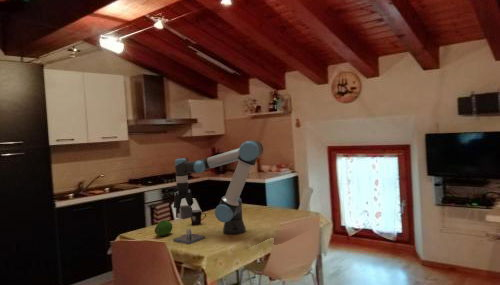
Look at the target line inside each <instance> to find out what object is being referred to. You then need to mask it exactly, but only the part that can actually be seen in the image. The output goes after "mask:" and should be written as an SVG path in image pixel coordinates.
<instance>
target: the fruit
mask: <svg viewBox="0 0 500 285" xmlns="http://www.w3.org/2000/svg"><path fill="white" fill-rule="evenodd" d="M172 230H173V224H172V222H171V221H169V220H167V219H164V220H161V221H159V222H158V223H157V224H156V227H155V228H154V233H155V234H156V235H157V236H167V235H169V234H170V233H171V232H172Z"/></svg>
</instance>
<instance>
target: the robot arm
mask: <svg viewBox="0 0 500 285" xmlns="http://www.w3.org/2000/svg"><path fill="white" fill-rule="evenodd" d="M263 153H264V146H263V144H262V143H261V142H260V141H259V140H247V141H245V142H243V143H242V144H241V145H240V147H239V148H235V149H231V150H230V151H225V152H222V153H219V154H216V155H213V156H208V157H205V158H202V159H198V160H192V161H189V160H188V161H187V158H184V157H183V158H176V159H175V160H174V168H175V180H176V183H175V184H176V189H177V190H176V192H173V196H174V198H173V208H174V209H175V210H176V209H177V213H178V218H177V219H180V218H181V208H180V206H181V205H182V199H183V197H184V199H185V202H186V204H187V205H188V206H190V208H192V206H193V204H194V199H193V193H192V191H193V190H192V189H189V182H188V180H189V178H188V174H197V173H198V174H199V173H203V172H205V171H207V170H210V169H213V168H217V167H219V166H224V165H227V164H230V163H233V162H238V163H237V165H236V168H235V170H234V172H233V175H232V177H231V180H230V183H229V185H228V187H227V190H226V193H225V195H224V196H222V197H221V199H220V202H219V204H218V205H217V206H216V207H215V209H214V215H215V219H217V220H218V221H219V222H221V223H223V227H222V228H223V230H222V233H223V234H225V235H239V234H243V233H245V232H246V226H245V223H244V220H243V205H242V203H243V202H242V198H241V197H240V196H241V195H242V191H243V189H244V187H245V184H246V182H247V180H248V179H247V178H248V177H249V174H250V172H251V169H252V167H254V166H256V163H257V160H258V158H260V157H262V155H263Z"/></svg>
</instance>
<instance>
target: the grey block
mask: <svg viewBox="0 0 500 285" xmlns="http://www.w3.org/2000/svg"><path fill="white" fill-rule="evenodd" d="M180 208H181V218H178V213H177V209H176V208H175V218H177V219H181V220H186V219H191V217H192V210H193V207H191V208H190V206H188V204H187V205H180Z"/></svg>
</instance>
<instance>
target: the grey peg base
mask: <svg viewBox="0 0 500 285" xmlns="http://www.w3.org/2000/svg"><path fill="white" fill-rule="evenodd" d="M205 238H206V236H205V235H202V234H195V233H192V229H191V228H187V229H186V230H185V234H182V235H181V236H178V237H176V238H173V239H172V240H173V242H174V243H175V242H176V243H181V244H186V245H191V244H193V243H197V242H199V241H202V240H204V239H205Z"/></svg>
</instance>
